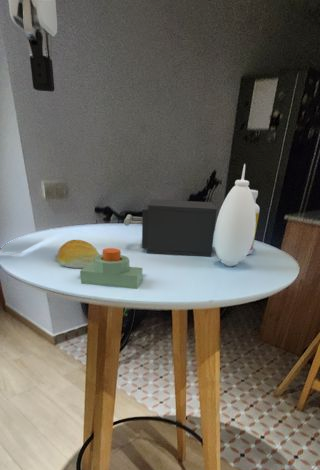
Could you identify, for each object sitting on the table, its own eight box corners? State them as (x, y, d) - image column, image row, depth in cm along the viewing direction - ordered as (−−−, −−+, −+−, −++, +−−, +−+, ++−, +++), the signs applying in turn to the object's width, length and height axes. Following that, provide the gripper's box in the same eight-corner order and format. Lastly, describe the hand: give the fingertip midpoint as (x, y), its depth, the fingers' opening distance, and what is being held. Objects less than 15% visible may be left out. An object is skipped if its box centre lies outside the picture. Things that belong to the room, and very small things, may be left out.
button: (100, 262, 62) (100, 251, 61) (105, 258, 64) (105, 247, 63) (118, 263, 62) (117, 253, 61) (122, 259, 64) (122, 248, 63)
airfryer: (147, 253, 83) (148, 205, 77) (149, 243, 91) (150, 198, 85) (211, 256, 83) (216, 208, 77) (207, 246, 91) (212, 202, 85)
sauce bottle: (204, 261, 79) (215, 161, 68) (234, 259, 82) (249, 162, 71) (223, 271, 73) (239, 164, 63) (255, 268, 76) (275, 165, 66)
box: (80, 284, 63) (78, 260, 61) (90, 274, 68) (88, 251, 66) (136, 289, 62) (136, 265, 60) (142, 279, 67) (143, 256, 65)
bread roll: (57, 269, 70) (54, 247, 67) (59, 257, 77) (57, 236, 74) (101, 269, 71) (99, 247, 69) (99, 257, 78) (98, 236, 76)
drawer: (123, 247, 83) (122, 208, 78) (127, 238, 90) (127, 202, 85) (201, 251, 83) (205, 212, 78) (198, 242, 90) (202, 206, 85)
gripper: (18, -61, 57) (35, 93, 68) (-24, -114, 45) (5, 83, 56) (66, -57, 57) (75, 96, 68) (37, -109, 45) (54, 87, 56)
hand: (44, 90), depth 62 cm, fingers closed
